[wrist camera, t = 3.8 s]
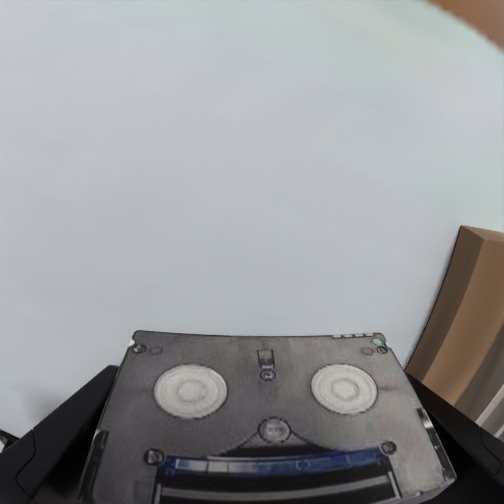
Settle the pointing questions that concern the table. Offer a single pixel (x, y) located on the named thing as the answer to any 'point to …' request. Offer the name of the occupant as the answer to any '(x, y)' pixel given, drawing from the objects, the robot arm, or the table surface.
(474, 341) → the rail panel
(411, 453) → the mini dv tape
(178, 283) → the table surface
